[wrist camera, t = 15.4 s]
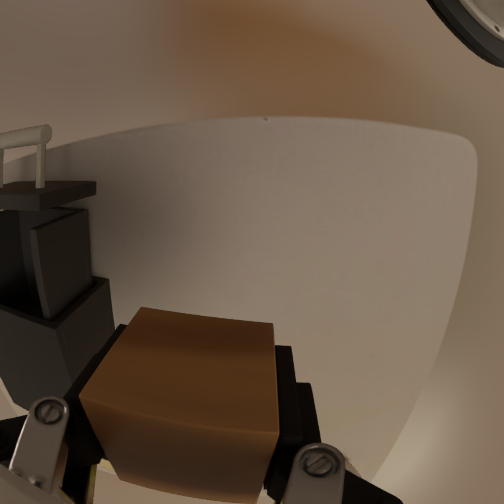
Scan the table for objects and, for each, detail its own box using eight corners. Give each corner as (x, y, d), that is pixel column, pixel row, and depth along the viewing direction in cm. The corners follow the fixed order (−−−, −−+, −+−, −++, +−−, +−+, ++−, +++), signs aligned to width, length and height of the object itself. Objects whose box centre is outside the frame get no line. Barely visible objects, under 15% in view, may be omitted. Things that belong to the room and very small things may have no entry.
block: (140, 305, 9) (77, 395, 5) (273, 322, 9) (280, 434, 5) (152, 395, 11) (119, 480, 6) (258, 411, 11) (256, 504, 6)
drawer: (18, 135, 20) (-35, 138, 13) (100, 125, 20) (42, 119, 13) (29, 296, 26) (-11, 328, 19) (104, 316, 26) (66, 361, 19)
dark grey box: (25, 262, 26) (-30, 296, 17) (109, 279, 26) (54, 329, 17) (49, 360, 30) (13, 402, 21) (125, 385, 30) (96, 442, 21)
